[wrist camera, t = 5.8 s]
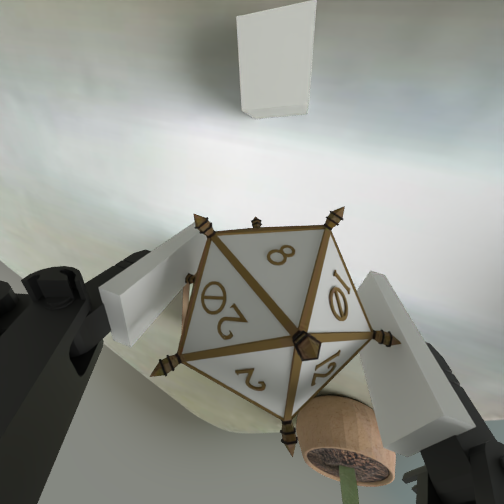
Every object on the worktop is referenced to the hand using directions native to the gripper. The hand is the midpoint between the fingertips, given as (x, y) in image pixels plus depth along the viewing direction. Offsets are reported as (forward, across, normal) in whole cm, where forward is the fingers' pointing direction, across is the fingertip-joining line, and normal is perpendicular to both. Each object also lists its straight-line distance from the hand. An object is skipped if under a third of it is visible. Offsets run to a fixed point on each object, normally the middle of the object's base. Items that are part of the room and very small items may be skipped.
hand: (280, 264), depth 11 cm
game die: (+1, 0, 0) cm, 1 cm away
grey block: (+13, -4, +10) cm, 17 cm away
